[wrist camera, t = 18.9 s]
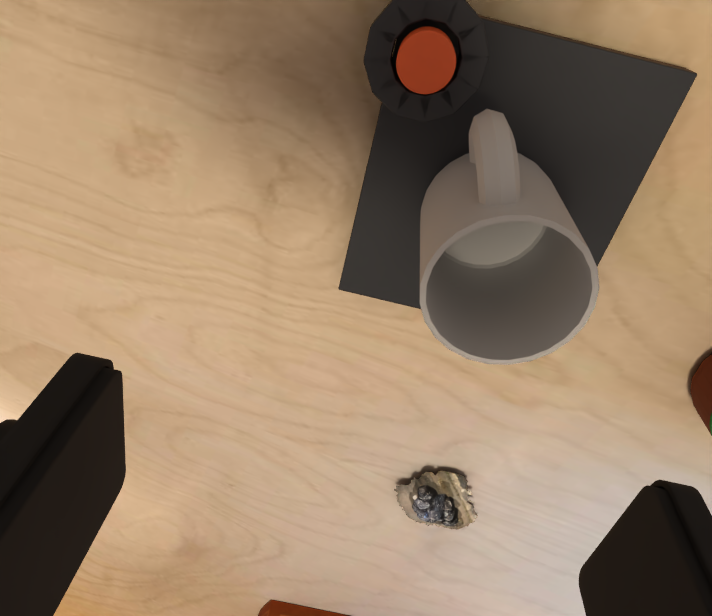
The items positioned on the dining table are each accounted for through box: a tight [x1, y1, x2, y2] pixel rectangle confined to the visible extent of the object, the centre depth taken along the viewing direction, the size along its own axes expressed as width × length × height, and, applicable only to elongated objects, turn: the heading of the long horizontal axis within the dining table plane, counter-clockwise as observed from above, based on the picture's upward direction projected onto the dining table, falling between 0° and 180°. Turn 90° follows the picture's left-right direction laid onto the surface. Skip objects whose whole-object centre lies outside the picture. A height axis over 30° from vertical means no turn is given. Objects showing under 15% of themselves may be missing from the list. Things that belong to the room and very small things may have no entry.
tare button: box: [396, 26, 456, 94], centre depth 25 cm, size 3×3×2 cm
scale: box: [339, 0, 697, 309], centre depth 30 cm, size 17×15×3 cm
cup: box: [420, 109, 599, 365], centre depth 26 cm, size 7×10×9 cm
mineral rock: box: [395, 470, 478, 529], centre depth 45 cm, size 7×8×2 cm
